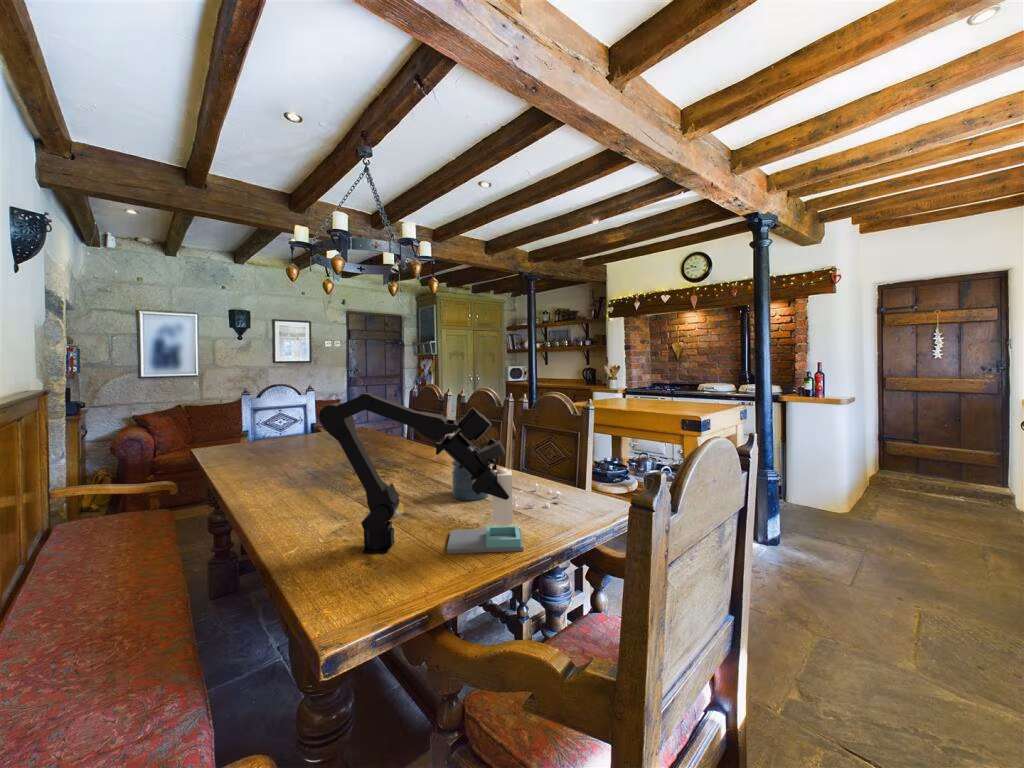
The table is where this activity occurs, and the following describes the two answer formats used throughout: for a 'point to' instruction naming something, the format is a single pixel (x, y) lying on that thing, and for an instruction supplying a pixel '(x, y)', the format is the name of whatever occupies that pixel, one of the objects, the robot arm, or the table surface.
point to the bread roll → (399, 510)
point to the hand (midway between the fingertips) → (507, 495)
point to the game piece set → (534, 500)
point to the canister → (463, 485)
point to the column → (502, 506)
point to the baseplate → (485, 540)
